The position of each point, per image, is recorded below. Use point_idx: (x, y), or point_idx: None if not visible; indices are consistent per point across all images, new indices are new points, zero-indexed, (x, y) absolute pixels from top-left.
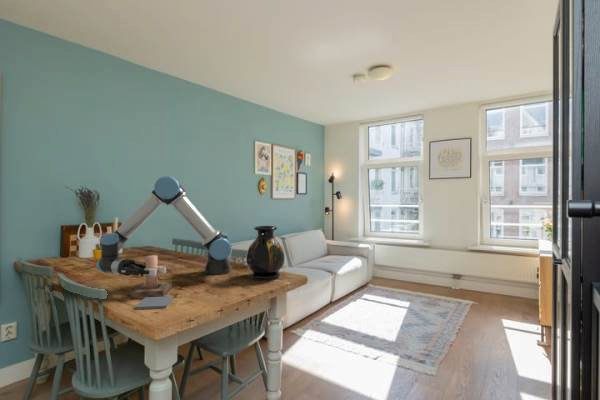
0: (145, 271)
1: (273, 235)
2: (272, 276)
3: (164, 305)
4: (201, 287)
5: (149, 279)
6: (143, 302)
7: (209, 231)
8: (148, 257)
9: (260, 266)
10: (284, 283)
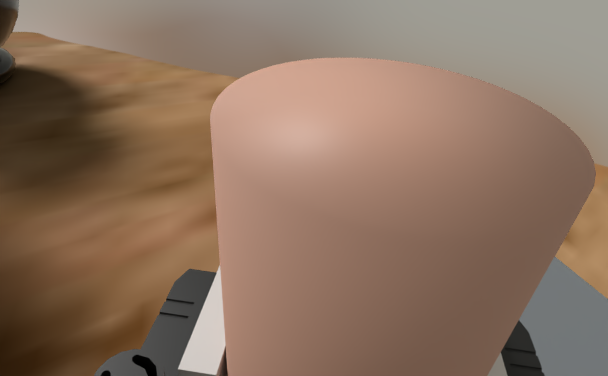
0: (532, 354)
1: None
2: (7, 51)
3: None
4: (100, 226)
5: None
6: (576, 352)
7: None
8: (553, 115)
9: (11, 8)
10: (76, 49)
